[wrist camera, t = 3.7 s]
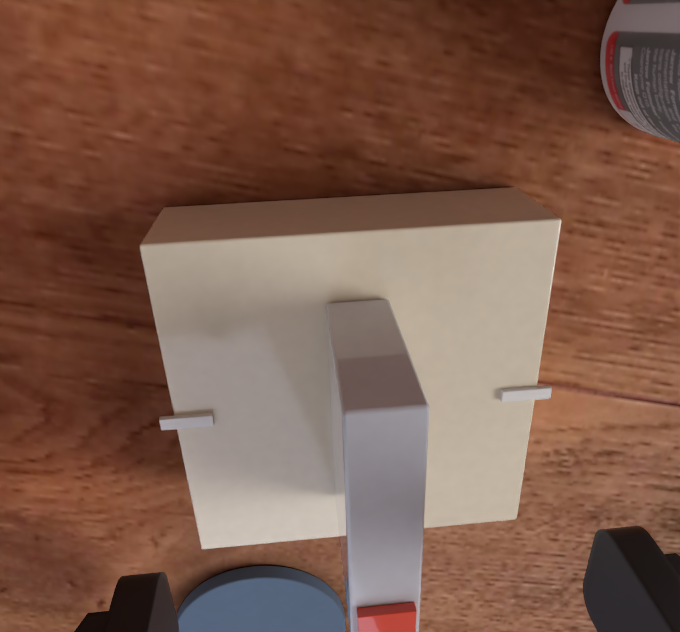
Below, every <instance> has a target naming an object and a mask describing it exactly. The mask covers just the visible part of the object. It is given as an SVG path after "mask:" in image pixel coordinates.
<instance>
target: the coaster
mask: <svg viewBox="0 0 680 632" xmlns="http://www.w3.org/2000/svg"><path fill="white" fill-rule="evenodd" d="M177 620H178V624H179V632H345V630H346V623H345V614H344V608H343V605H342V603H341V601H340V599H339V597H338V595H337V594H336V593H335V592H334V590H333V589H332V588H331V587H330V586H328V585H327V584H326V583H325V582H323V581H322V580H320V579H319V578H317V577H315V576H313V575H311V574H308V573H306V572H303V571H300V570H296V569H292V568H287V567H280V566H252V567H245V568H239V569H235V570H231V571H228V572H225V573H222V574H219V575H217V576H215V577H213V578H210V579H209V580H207V581H205V582H204V583H202V584H201V585H199V586H198V587H197V588H195V589H194V590H193V591H192V592H191V593H190V594H189V595H188V596H187V597H186V599H185V600H184V602H183V603H182V605H181V607H180V609H179V611H178V614H177Z"/></svg>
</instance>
